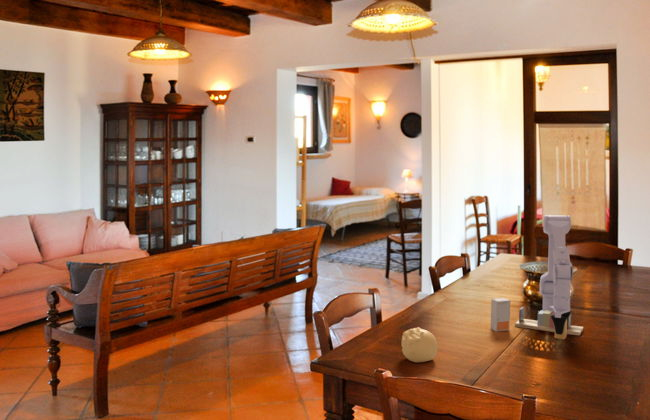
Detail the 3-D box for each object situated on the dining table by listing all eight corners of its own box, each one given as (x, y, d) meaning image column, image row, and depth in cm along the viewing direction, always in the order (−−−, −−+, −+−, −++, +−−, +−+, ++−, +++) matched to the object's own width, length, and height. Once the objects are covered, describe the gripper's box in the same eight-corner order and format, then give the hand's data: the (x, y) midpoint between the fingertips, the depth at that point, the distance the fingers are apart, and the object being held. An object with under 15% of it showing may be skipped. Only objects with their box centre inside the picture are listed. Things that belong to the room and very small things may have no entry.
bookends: (522, 319, 254) (522, 306, 253) (570, 326, 245) (571, 312, 244) (519, 322, 250) (519, 309, 249) (568, 329, 240) (568, 315, 240)
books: (540, 322, 250) (540, 309, 250) (568, 326, 245) (569, 312, 244) (537, 325, 246) (537, 312, 245) (566, 329, 241) (567, 316, 240)
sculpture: (398, 354, 219) (398, 324, 217) (432, 353, 219) (432, 323, 218) (404, 366, 207) (404, 334, 206) (440, 364, 208) (441, 333, 207)
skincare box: (496, 332, 242) (496, 301, 241) (490, 328, 246) (490, 298, 245) (510, 330, 244) (510, 300, 242) (504, 327, 248) (504, 297, 247)
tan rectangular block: (556, 334, 239) (557, 316, 238) (566, 336, 237) (567, 317, 236) (554, 337, 235) (555, 319, 234) (564, 339, 233) (565, 320, 232)
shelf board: (519, 321, 256) (519, 318, 256) (583, 329, 244) (583, 326, 244) (514, 326, 249) (515, 323, 249) (579, 335, 237) (579, 332, 237)
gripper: (554, 290, 242) (553, 325, 244) (546, 299, 230) (545, 335, 231) (574, 292, 239) (572, 327, 240) (567, 301, 226) (565, 338, 228)
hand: (560, 331), depth 235 cm, fingers open, 6 cm apart
